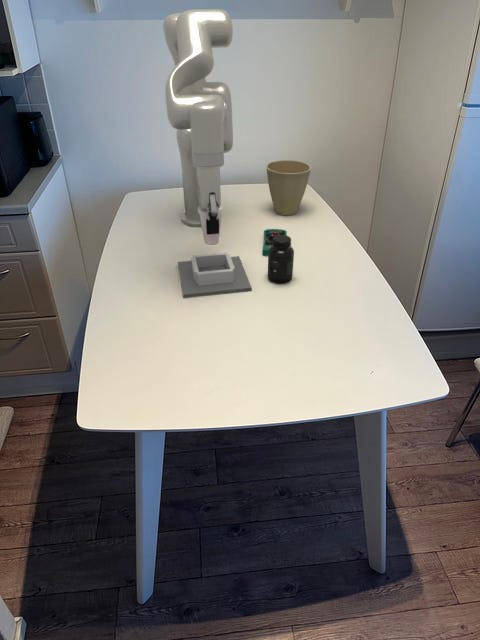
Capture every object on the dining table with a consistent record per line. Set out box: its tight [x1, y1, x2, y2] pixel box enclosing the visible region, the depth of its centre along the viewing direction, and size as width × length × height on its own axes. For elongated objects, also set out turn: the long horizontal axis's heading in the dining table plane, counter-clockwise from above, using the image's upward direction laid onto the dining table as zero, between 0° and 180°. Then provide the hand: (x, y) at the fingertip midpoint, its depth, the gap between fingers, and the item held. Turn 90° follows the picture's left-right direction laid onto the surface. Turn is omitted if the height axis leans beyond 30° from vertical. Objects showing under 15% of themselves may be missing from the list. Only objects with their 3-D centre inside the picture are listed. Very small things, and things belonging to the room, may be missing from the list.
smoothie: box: [198, 205, 224, 246], centre depth 125 cm, size 6×6×14 cm
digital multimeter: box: [262, 228, 288, 257], centre depth 151 cm, size 7×15×3 cm, turn 176°
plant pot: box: [266, 159, 312, 216], centre depth 168 cm, size 15×15×16 cm
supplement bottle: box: [267, 234, 295, 285], centre depth 131 cm, size 7×7×12 cm
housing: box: [177, 252, 253, 299], centre depth 134 cm, size 18×18×4 cm
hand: (211, 227), depth 127 cm, fingers closed on smoothie, 5 cm apart
